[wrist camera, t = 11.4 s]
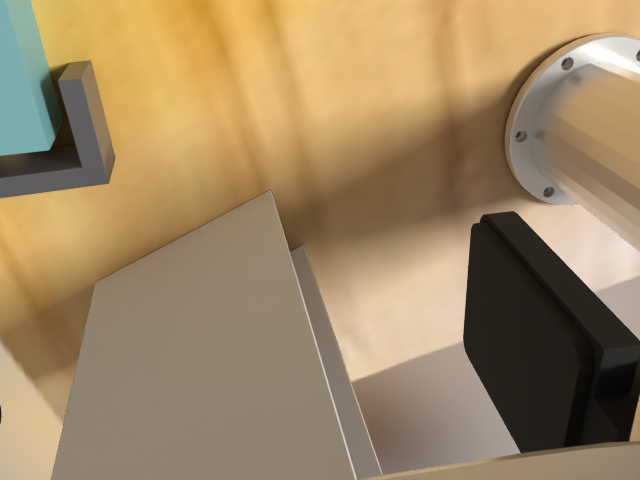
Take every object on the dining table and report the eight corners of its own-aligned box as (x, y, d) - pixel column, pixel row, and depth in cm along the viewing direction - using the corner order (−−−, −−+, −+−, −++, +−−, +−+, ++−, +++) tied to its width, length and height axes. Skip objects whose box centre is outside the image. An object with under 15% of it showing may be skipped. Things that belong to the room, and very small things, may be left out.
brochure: (139, 334, 46) (84, 887, 20) (94, 283, 43) (-36, 853, 17) (305, 247, 45) (464, 714, 19) (270, 189, 42) (404, 648, 17)
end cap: (90, 60, 36) (80, 78, 32) (115, 158, 39) (108, 183, 35) (-54, 76, 35) (-79, 96, 31) (-16, 174, 38) (-36, 203, 34)
